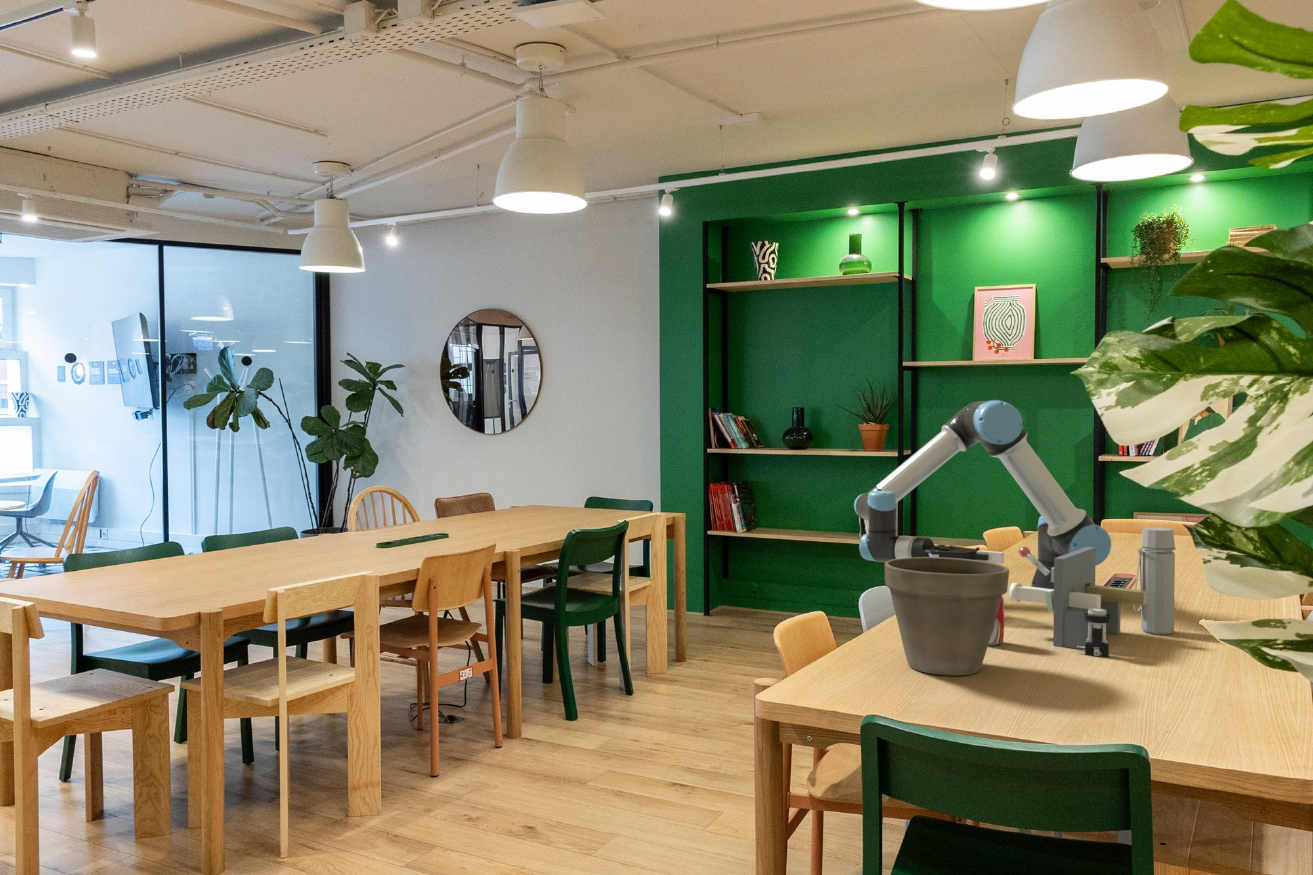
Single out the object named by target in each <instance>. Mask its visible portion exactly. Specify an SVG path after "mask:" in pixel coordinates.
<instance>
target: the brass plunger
mask: <svg viewBox="0 0 1313 875" xmlns="http://www.w3.org/2000/svg"><path fill="white" fill-rule="evenodd" d="M1085 593H1089V594H1097V595H1101V601H1108V602H1117V603H1121V604H1127V605H1133V606H1134V605H1135V606H1140V605H1142V606H1144V605H1146V604H1147V591H1143V590H1140V589H1136V590H1135V588H1133V589H1132V588H1125V587H1116V586H1115V587H1114V586H1105V585H1096V584H1095V585H1089V584H1085Z"/></svg>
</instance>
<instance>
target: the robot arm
mask: <svg viewBox="0 0 1313 875" xmlns="http://www.w3.org/2000/svg"><path fill="white" fill-rule="evenodd" d="M1027 437H1028V432H1027V430H1026V428H1025V427H1024V426H1023V417H1022V416H1021V413H1020V411H1019V410H1018V409H1017V408H1016V407H1015V406H1013V405H1012V404H1011V403H1009V402H1006V401H1004V400H998V399H991V400H977V401H973V402H971V403H969V404H967V405H966V406H964V407H962V409H960V410H959V411H958V412H957V413H956V414H955V415H953V416H952V417H951V418H950V419H948V421H946V422H945V423H944V424H943V425H942V426H941V431H940V432H939V433H937V434H936V435H935V436H934V437H933V438H931V439H930V440H929V441H928V442H926V443H925V444H924V445H923V446H922V447H921V448H919V449H917V451H916V452H915V453H913V454H912V455H911V456H909V458H907V459H906V460H905V461H903V463H901V464H900V465H899V466H898V467H896V469H894V470H893V471H891V472H890V474H888V475H887V476H886V477H885V478H883V479H882V480H881V481H880V482H879V483H877V484H876V485H874V487H873V488H871V489H870V490H869V491H867V492H863V493H861V494H860V495H858V496H857V497H856V498H855V500H854V503H853V508H854V511H855V513H856V515H857V516H858V517H860V519H862V520H864V521H868V533H865V534H863V535H862V536H861V538H860V543H859V544H858V545H859V546H858V548H859V553H860V556H861V558H863V559H864V560H866V561H873V562H877V563H885V562H887V561H889V560H893V559H900V558H914V557H942V558H959V559H970V560H978V561H985V562H991V563H995V564H999V565H1002V564H1004V563H1005V556H1004V554H1005V553H1004V552H1003V551H993V550H992V551H991V550H981V548H980V547H978V546H977V547H976V548H971V547H965V546H964V547H963V546H962V547H961V546H956V545H945V544H938V545H935V544H934V541H933V540H932V538H930V537H921V536H917V537H916V536H911V535H910V536H909V535H897V503H898V502H899V501H901V500H902V499H903V498H904V497H905V496H907V495H908V494H909V493H910V492H911V491H913V490H914V489H915V488H916V487H918V486H919V485H920V484H921V483H922V482H924V481H925V480H926V479H927V478H928V477H930V476H931V475H932V474H933V473H935V472H936V471H937V470H939V469H940V467H942V466H943V465H945V463H946V462H948V461H949V460H950V459H952V458H953V457H954V456H955V455H957V453H959V452H966V451H967V450H969V448H971V447H972V446H975V445H976V444H979V443H980V444H981V445H982V446H983V448H984V450H986V452H987V453H988V455H989V456H990V457H991V458H997V459H999V461H1001V463H1002V465H1003V466H1004V467H1005V468H1006V469H1007V471H1008V473H1009V474H1010V475H1011V476H1012V477H1013V479H1014V480H1015V482H1016V483H1017V485H1018V486H1019V487H1020V489H1021V490H1022V491H1023V492H1024V494H1025V495H1026V497H1027V498H1028V500H1029V501H1030V503H1031V504H1032V505H1033V506H1034V507H1035V509H1036V511H1037V512H1038V513H1039V514H1040V516H1039V518H1038V520H1037V521H1038V523H1037V528H1036V529H1037V560H1038V561H1039V562H1041V563H1042V564H1043V565H1044V566H1045V567H1046V568H1047V569H1048V570H1049V571H1050V573H1049V574H1048V575H1047V576H1046V575H1044V574H1043V573H1042V572H1041V571H1040V570H1039V569H1038V568H1037V567H1036V569H1035V572H1034V575H1033V578H1032V581H1031V584H1030V587H1037V588H1046V589H1054V582H1051V568H1053V567H1054V558H1056V557H1059V556H1062V555H1065V554H1068V553H1071V552H1074V551H1076V550H1079V549H1082V548H1085V547H1096V564H1095V567H1096V566H1098V565H1100V564H1103V562H1105V561H1106V560H1107V558H1108V557H1109V556H1110V553H1111V548H1112V540H1111V537H1110V536H1111V535H1110V534H1109V533H1108V531H1107V530H1106V529H1105V528H1103V527H1101V525H1098V524H1095V522H1094V521H1093V519H1092V518H1091V517H1090V515H1089V514H1088V513H1087V512H1086V510H1085V509H1082V508H1076V506H1075V504H1073V502H1072V501H1071V500H1070V498H1069V496H1068V495H1067V493H1066V492H1065V491H1064V490H1063V488H1062V487H1061V486H1060V484H1059V483H1058V482H1057V481H1056V479H1055V477H1053V475H1052V473H1050V471H1049V470H1048V468H1047V466H1046V465H1045V464H1044V462H1043V461H1042V460H1041V459H1040V457H1039V455H1037V453H1036V452H1035V450H1034V449H1033V448H1032V447H1031V445H1030V444H1029V443H1028V441H1027Z"/></svg>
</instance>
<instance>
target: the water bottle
mask: <svg viewBox="0 0 1313 875" xmlns="http://www.w3.org/2000/svg"><path fill="white" fill-rule="evenodd" d="M1141 534H1142V535H1141V536H1142V537H1141V545H1140V546H1141V547H1140V548H1137V553H1138V560H1137V561H1138V563H1137V568H1136V569H1137V570H1136V577H1135V584H1134V590H1138V589H1137V587H1138V580H1139V590H1143V591H1147V604H1146V605H1144V606H1142V605H1139V608H1138V609H1137V608H1136V605H1133V611H1134V612H1136V613H1139V612H1140V628H1141V630H1142V631H1144V632H1145V633H1148V634H1152V635H1159V636H1160V635H1161V636H1165V635H1170V634H1173V632H1174V631H1175V584H1176V583H1175V582H1176V581H1175V579H1176V577H1175V574H1176V573H1175V572H1176V566H1175V564H1176V553H1175V551H1176V546H1175V545H1176V544H1175V534H1174V529H1173V528H1168V527H1158V526H1157V527H1156V526H1155V527H1153V526H1150V527H1143V528H1142V533H1141ZM1138 578H1139V579H1138Z"/></svg>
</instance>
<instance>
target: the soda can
mask: <svg viewBox="0 0 1313 875" xmlns="http://www.w3.org/2000/svg"><path fill="white" fill-rule="evenodd" d="M1004 635H1005V601H1004V597H1003V596H1002V598H1001V602H1000V606H999V610H998V613H997V617H996V620H995V624H994V627H993V630H992V634H991V637H990V640H989V644H988V646H994V647H995V646H998V645H1000V644H1002V643H1003V641H1004Z"/></svg>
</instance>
